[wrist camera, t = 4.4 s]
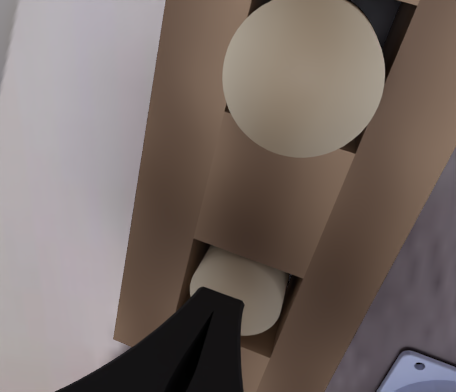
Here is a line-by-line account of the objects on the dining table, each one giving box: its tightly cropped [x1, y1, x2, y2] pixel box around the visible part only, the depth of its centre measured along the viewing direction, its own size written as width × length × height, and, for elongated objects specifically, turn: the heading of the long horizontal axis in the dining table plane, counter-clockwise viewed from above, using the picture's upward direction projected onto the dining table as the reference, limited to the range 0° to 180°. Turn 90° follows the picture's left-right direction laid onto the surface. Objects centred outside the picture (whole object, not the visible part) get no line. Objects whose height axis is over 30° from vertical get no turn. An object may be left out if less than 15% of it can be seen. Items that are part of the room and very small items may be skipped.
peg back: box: [190, 245, 290, 336], centre depth 20 cm, size 4×4×4 cm
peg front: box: [222, 0, 385, 158], centre depth 13 cm, size 4×4×4 cm
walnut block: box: [113, 0, 456, 392], centre depth 18 cm, size 10×20×5 cm, turn 167°
